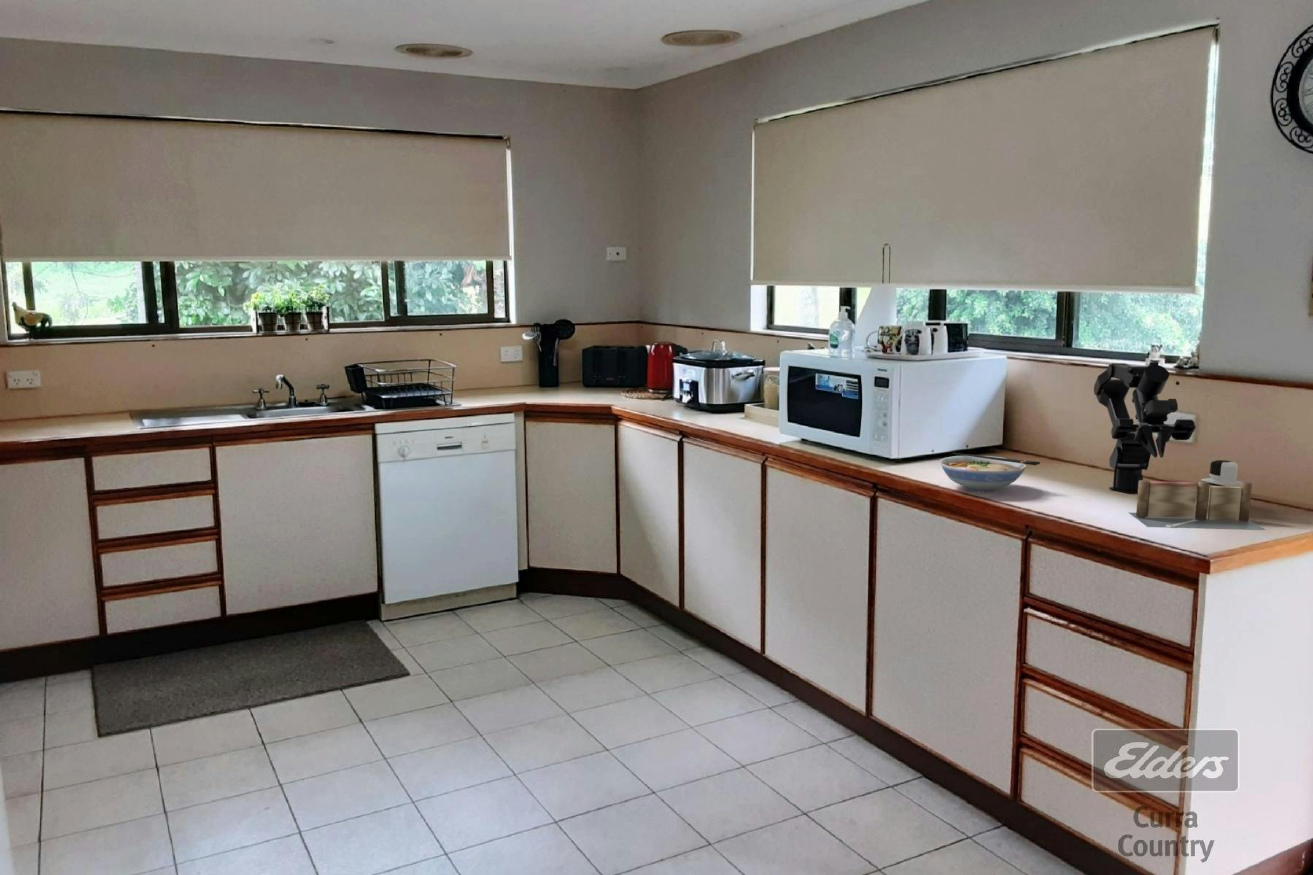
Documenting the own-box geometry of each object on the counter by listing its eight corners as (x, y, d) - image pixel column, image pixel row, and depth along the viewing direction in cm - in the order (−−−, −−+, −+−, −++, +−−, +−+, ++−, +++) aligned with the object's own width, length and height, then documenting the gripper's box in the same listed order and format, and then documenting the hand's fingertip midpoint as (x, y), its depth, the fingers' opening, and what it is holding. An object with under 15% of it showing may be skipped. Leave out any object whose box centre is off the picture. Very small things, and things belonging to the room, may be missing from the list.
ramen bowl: (918, 488, 283) (919, 459, 282) (960, 476, 299) (962, 448, 298) (1003, 503, 266) (1005, 472, 264) (1043, 489, 281) (1045, 460, 280)
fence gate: (1191, 516, 248) (1194, 481, 247) (1195, 518, 246) (1198, 483, 244) (1134, 514, 250) (1137, 480, 248) (1138, 517, 247) (1140, 482, 246)
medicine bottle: (1197, 506, 261) (1201, 459, 259) (1218, 503, 264) (1222, 457, 262) (1222, 512, 255) (1226, 464, 253) (1243, 509, 257) (1247, 462, 255)
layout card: (1147, 528, 240) (1147, 526, 240) (1128, 514, 254) (1128, 512, 253) (1266, 531, 236) (1266, 529, 236) (1240, 516, 250) (1240, 514, 250)
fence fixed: (1197, 520, 246) (1200, 483, 244) (1193, 517, 248) (1196, 481, 246) (1250, 521, 244) (1253, 484, 243) (1245, 518, 246) (1249, 482, 245)
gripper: (1117, 386, 259) (1128, 437, 250) (1196, 387, 257) (1210, 438, 248) (1106, 413, 268) (1116, 462, 259) (1181, 414, 266) (1194, 464, 257)
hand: (1159, 456), depth 255 cm, fingers closed
